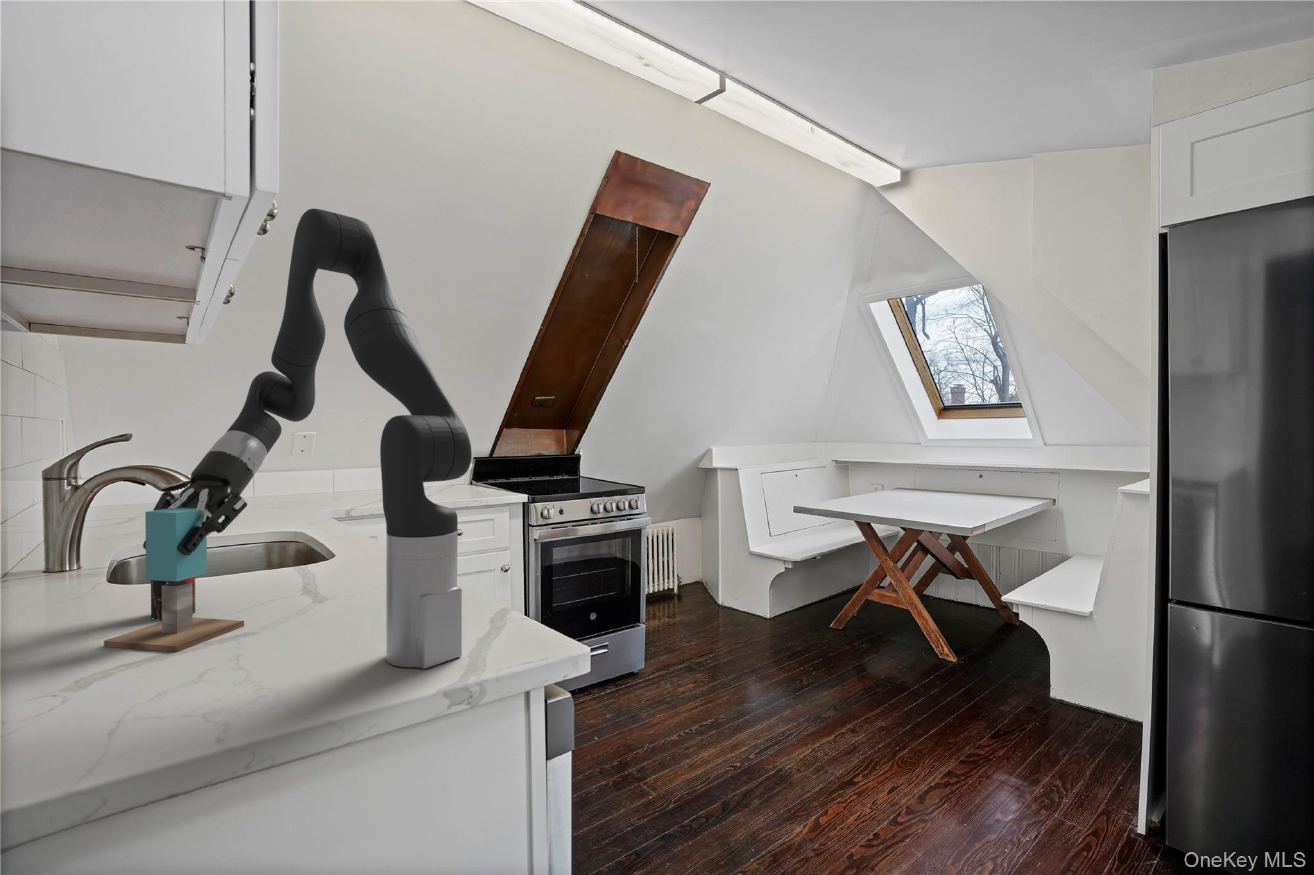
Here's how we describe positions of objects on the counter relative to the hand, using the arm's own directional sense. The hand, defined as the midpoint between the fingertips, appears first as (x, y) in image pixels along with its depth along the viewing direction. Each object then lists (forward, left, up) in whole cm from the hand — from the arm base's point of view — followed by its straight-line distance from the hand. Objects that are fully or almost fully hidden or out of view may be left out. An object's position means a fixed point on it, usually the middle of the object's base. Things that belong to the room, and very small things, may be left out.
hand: (165, 551), depth 97 cm
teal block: (+1, -2, -4) cm, 5 cm away
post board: (+1, -2, -13) cm, 13 cm away
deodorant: (+14, -6, -13) cm, 20 cm away
